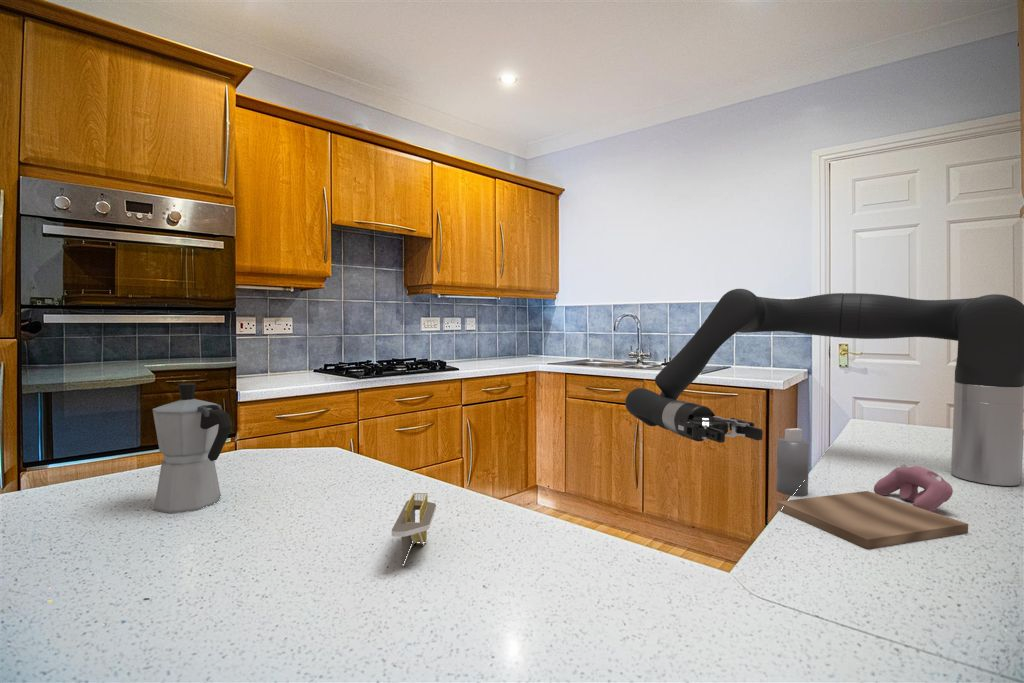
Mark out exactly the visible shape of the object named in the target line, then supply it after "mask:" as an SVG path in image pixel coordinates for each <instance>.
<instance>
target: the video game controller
mask: <svg viewBox="0 0 1024 683" xmlns="http://www.w3.org/2000/svg"><path fill="white" fill-rule="evenodd" d="M919 488H922V489H923V490H921V491H919ZM898 490H899V497H900V498H901V499H903V500H906V501H907V502H913V503H912V506H915V507H918V508H921V509H924V510H928V511H931V512H934V511H935V510H937V509H938V508H940V507H941V506H942V505H943V504H944V503H945V502H947V501H949V500H950V499H951V497H952V496H953V492H954V490H953V487H952V485H951V484H950V483H949V482H948V481H947V480H945V478H943V477H942V476H941V475H939V473H937V472H934V471H932V470H930V469H928V468H925V467H922V466H918V465H913V466H912V465H906V464H901V465H899V467H898V466H897V467H895V468H894V469H892V470H891V471H890V472H889V473H888V474H887V475H885V476H884V477H882V478H880V479H879V480H878V481H877V482H875V484H874V485H873V493H876V494H879V495H882V496H887V495H889V494H890V495H891V494H892V493H894V492H897V491H898Z"/></svg>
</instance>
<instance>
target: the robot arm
mask: <svg viewBox="0 0 1024 683" xmlns="http://www.w3.org/2000/svg"><path fill="white" fill-rule="evenodd" d="M762 332H763V333H764V332H766V333H768V332H769V333H771V332H786V333H787V332H789V333H790V332H791V333H796V334H797V333H798V334H802V335H803V334H804V335H812V336H819V337H830V338H831V337H832V338H841V339H858V340H860V339H862V340H875V339H877V340H881V339H883V340H884V339H885V340H887V339H902V338H929V339H931V338H932V339H940V340H949V341H956V342H957V353H956V354H957V355H956V361H955V362H956V363H955V369H954V384H953V385H954V388H953V415H952V416H953V418H952V435H951V436H952V440H951V442H952V443H951V457H950V458H951V460H950V461H951V462H950V474H951V475H952V476H955V477H957V478H958V479H962V480H966V481H971V482H974V483H979V484H986V485H993V486H1003V487H1005V486H1006V487H1009V486H1010V487H1011V486H1013V487H1014V486H1019V485H1020V484H1021V481H1022V478H1023V476H1022V473H1023V472H1022V471H1023V455H1024V454H1023V453H1024V429H1023V423H1024V304H1023V303H1022V302H1021V301H1020V300H1019V299H1016V298H1015V297H1012V296H1009V295H1005V294H998V293H997V294H996V293H995V294H993V293H992V294H986V295H981V296H978V297H970V298H957V299H956V298H955V299H953V298H952V299H917V298H916V299H915V298H910V297H902V296H895V295H889V294H876V293H865V292H864V293H855V292H854V293H853V292H852V293H850V292H849V293H848V292H847V293H846V292H843V293H842V292H839V293H836V292H835V293H834V292H833V293H826V294H819V295H818V294H816V295H812V296H806V297H800V298H772V297H764V296H757V295H756V294H755V293H754V292H752V291H750V290H748V289H745V288H734V289H731V290H729V291H727V292H725V293H724V294H723V295H722V296H721V297H720V299H719V301H718V302H717V303H715V306H714V308H713V309H712V310H711V312H710V314H709V315H708V316H707V317H706V319H705V320H704V322H703V323H702V324H701V326H700V327H699V329H698V330H697V331H696V332H695V333H694V334H693V335H692V337H691V338H690V339H689V341H688V342H687V343H686V344H685V345H684V346H683V348H682V349H681V350H680V351H679V352H677V354H676V355H675V356H674V357H673V358H672V359H671V360H669V362H668V363H667V364H666V365H665V366H664V367H663V368H662V369H661V370H660V371H659V372H658V374H657V375H656V376H655V378H654V382H655V384H656V386H657V387H658V389H659V390H660V391H661V392H660V394H658V393H657V392H654V391H652V390H651V389H647V388H644V387H639V388H635V389H633V390H631V391H629V393H628V394H627V396H626V397H625V402H624V403H625V409H626V410H627V411H628V413H630V414H631V415H632V416H633V417H635V418H637V419H638V420H640V421H641V422H642V423H644V424H645V425H647V426H649V427H656V426H658V427H659V428H662V429H663V430H664V429H665V430H667V431H670V432H672V433H674V434H676V435H678V436H681V437H683V438H686V439H689V440H692V441H696V442H703V441H704V442H705V441H706V440H709V441H713V442H716V443H719V444H724V443H725V442H726V438H736V437H737V436H738V437H744V438H747V439H752V440H754V441H762V440H763V435H764V434H763V429H762V428H759V427H756V426H755V425H756V424H755V422H753V421H747V420H742V419H739V418H735V417H731V418H723V417H722V416H718V415H715V412H714V411H713V410H712V409H711V408H710V407H708V406H706V405H702V404H698V403H693V402H690V401H687V400H686V401H685V400H679V397H680V395H681V394H682V393H683V392H684V391H685V390H686V389H687V388H688V387H689V386H690V385H691V384H692V383H693V382H694V381H695V380H696V379H697V378H698V376H699V375H701V373H702V371H704V369H705V367H706V366H707V365H708V363H709V362H710V359H712V357H713V355H714V354H715V353H716V352H717V350H718V349H719V348H720V347H721V346H722V345H723V344H724V343H725V342H727V340H728V339H730V338H731V337H732V336H734V335H735V334H737V333H741V334H745V333H750V334H751V333H762ZM729 431H731V433H729ZM1020 480H1021V481H1020Z"/></svg>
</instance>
